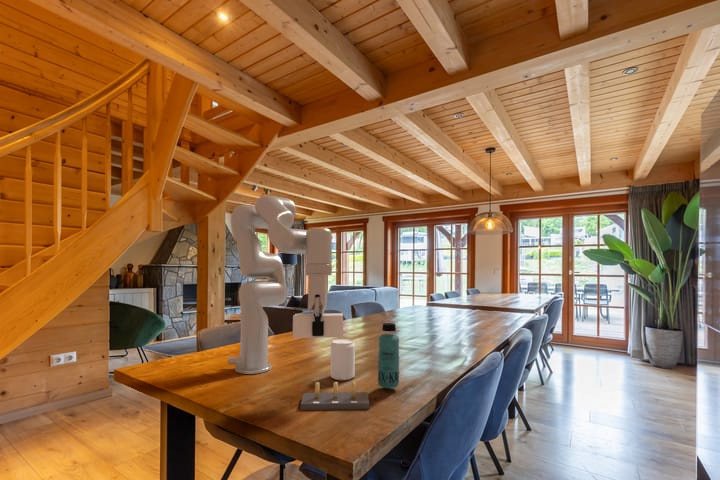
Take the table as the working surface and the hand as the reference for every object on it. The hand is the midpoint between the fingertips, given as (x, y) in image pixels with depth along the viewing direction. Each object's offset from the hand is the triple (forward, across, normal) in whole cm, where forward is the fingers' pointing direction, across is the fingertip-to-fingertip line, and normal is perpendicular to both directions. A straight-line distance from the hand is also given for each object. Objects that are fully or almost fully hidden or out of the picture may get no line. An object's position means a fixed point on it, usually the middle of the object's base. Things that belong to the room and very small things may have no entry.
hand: (318, 333), depth 101 cm
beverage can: (+18, -19, +7) cm, 27 cm away
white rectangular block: (+1, 0, 0) cm, 1 cm away
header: (+18, +3, +5) cm, 19 cm away
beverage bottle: (+19, -7, +21) cm, 29 cm away
